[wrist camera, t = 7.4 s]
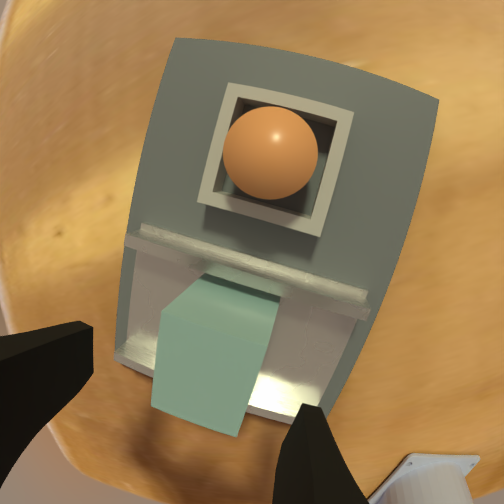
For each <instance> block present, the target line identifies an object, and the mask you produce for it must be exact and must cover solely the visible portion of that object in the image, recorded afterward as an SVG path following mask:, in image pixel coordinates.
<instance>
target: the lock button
mask: <svg viewBox="0 0 504 504" xmlns="http://www.w3.org/2000/svg"><path fill="white" fill-rule="evenodd" d="M317 159H318V148H317V142H316V139H315V136H314V134H313V132H312V130H311V128H310V127H309V125H308V124H307V123H306V122H305V121H304V120H303V119H302V118H301V117H300V116H299V115H297V114H295V113H294V112H292V111H290V110H287V109H284V108H280V107H270V106H269V107H261V108H257V109H254V110H251V111H249V112H247V113H245V114H244V115H242V116H241V117H240V118H239V119H238V120H236V122H235V123H234V124H233V125H232V126H231V128H230V129H229V131H228V133H227V135H226V138H225V141H224V146H223V160H224V165H225V168H226V171H227V173H228V175H229V177H230V178H231V180H232V181H233V182H234V183H235V185H236V186H237V187H239V188H240V189H241V190H242V191H244V192H245V193H247V194H249V195H251V196H254V197H256V198H261V199H269V200H271V199H280V198H284V197H287V196H289V195H292V194H294V193H295V192H297V191H298V190H300V189H301V188H302V187H303V186H305V184H306V183H307V182H308V181H309V179H310V178H311V176H312V174H313V172H314V170H315V167H316V164H317Z"/></svg>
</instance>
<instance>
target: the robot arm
mask: <svg viewBox="0 0 504 504" xmlns="http://www.w3.org/2000/svg"><path fill="white" fill-rule="evenodd" d="M93 373H94V370H93V327H92V326H89V325H87V324H85V323H83V322H81V321H75V322H69V323H64V324H60V325H55V326H51V327H47V328H42V329H38V330H33V331H29V332H24V333H18V334H12V335H6V336H0V488H1V486H2V484H3V482H4V481H5V479H6V477H7V476H8V474H9V472H10V470H11V469H12V467H13V466H14V464H15V463H16V461H17V460H18V458H19V457H20V455H21V454H22V452H23V451H24V450H25V448H26V447H27V446H28V444H29V443H30V442H31V441H32V439H33V438H34V437H35V435H36V434H37V433H38V432H39V431H40V430H41V429H42V428H43V427H44V426H45V425H46V424H47V423H48V422H49V421H50V420H51V419H52V418H53V417H54V416H55V415H56V414H57V413H58V412H59V411H60V410H61V409H62V408H63V407H64V406H66V405H67V404H68V403H69V402H70V401H71V400H72V399H73V398H74V397H75V396H76V395H77V394H78V393H79V391H80V390H81V389H82V388H83V386H84V385H85V384H86V382H87V381H88V380H89V378H90V377H91V376H92V374H93ZM479 460H480V457H479V455H437V454H420V453H412V454H409V455H408V456H407V457H406V458H405V459H404V460H403V462H402V463H401V464H400V465H399V466H398V468H397V469H396V470H395V471H394V472H393V473H392V474H391V475H390V477H389V478H388V479H387V480H386V481H385V482H384V483H383V484H382V485H381V486H380V487H379V489H378V490H377V491H376V492H375V493H374V494H373V495H372V496H371V497H370V498H369V499H368V500H367V499H366V498H365V496H364V495H363V493H362V492H361V490H360V488H359V487H358V485H357V483H356V482H355V480H354V478H353V476H352V475H351V473H350V471H349V469H348V467H347V465H346V463H345V461H344V459H343V457H342V455H341V453H340V451H339V449H338V446H337V444H336V442H335V440H334V437H333V435H332V432H331V430H330V428H329V425H328V423H327V420H326V417H325V415H324V412H323V410H322V408H321V407H317V406H313V405H309V404H304V403H302V405H301V407H300V409H299V411H298V413H297V415H296V417H295V419H294V421H293V423H292V425H291V427H290V429H289V431H288V433H287V435H286V437H285V439H284V441H283V443H282V446H281V450H280V454H279V458H278V463H277V467H276V473H275V482H274V491H273V500H272V504H474V503H473V500H472V497H471V494H470V491H469V489H468V486H467V483H466V480H465V476H466V475H467V474H468V473H469V472H470V471H471V469H472V468H473V467H474V466H475V465H476V464H477V463H478V462H479Z"/></svg>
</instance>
